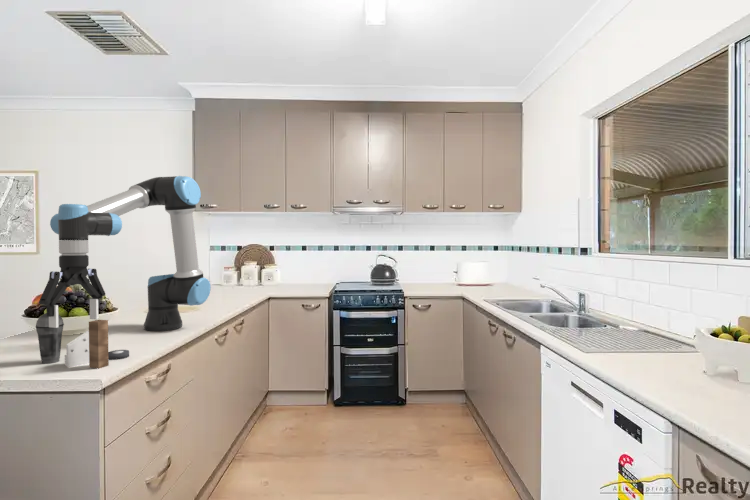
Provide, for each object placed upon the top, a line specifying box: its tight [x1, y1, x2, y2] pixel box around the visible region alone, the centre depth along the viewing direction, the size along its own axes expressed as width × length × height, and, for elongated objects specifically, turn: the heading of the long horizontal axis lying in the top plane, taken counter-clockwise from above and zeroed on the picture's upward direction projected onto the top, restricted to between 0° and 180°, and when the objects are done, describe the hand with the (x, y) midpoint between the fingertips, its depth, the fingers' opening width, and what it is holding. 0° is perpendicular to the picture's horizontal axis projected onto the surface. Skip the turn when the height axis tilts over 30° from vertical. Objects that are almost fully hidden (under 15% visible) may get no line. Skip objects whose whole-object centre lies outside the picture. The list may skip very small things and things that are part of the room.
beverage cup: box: [35, 312, 65, 365], centre depth 138 cm, size 7×7×20 cm
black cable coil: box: [108, 349, 130, 361], centre depth 144 cm, size 6×6×2 cm
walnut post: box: [88, 319, 110, 370], centre depth 133 cm, size 4×4×14 cm
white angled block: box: [64, 330, 89, 368], centre depth 136 cm, size 4×10×9 cm
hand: (74, 323), depth 135 cm, fingers open, 13 cm apart
